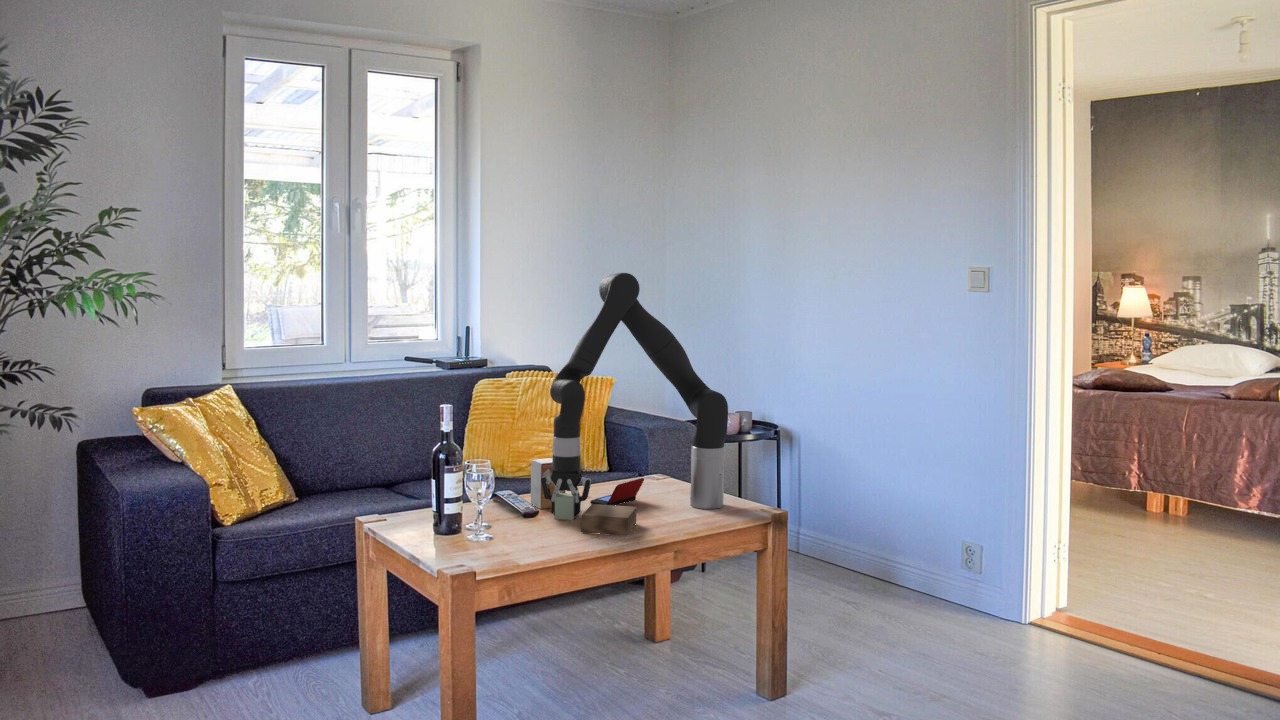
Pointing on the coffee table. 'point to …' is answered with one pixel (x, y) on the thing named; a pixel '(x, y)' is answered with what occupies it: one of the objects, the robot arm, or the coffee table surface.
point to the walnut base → (608, 519)
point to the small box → (537, 472)
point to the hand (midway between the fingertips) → (565, 514)
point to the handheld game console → (621, 493)
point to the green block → (564, 506)
